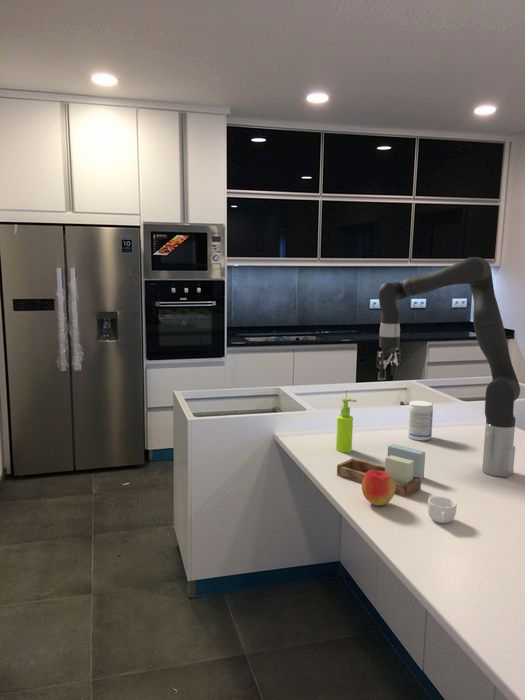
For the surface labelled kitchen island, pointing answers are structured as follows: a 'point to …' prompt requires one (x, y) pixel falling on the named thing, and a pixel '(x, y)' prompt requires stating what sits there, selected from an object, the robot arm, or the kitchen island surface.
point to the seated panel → (399, 469)
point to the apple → (378, 487)
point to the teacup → (441, 509)
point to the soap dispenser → (344, 428)
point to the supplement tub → (420, 420)
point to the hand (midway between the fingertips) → (388, 376)
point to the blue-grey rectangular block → (410, 457)
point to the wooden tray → (358, 469)
